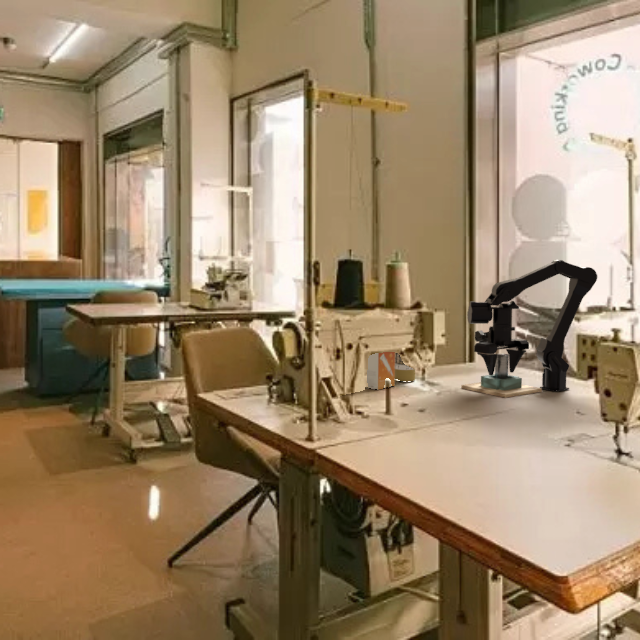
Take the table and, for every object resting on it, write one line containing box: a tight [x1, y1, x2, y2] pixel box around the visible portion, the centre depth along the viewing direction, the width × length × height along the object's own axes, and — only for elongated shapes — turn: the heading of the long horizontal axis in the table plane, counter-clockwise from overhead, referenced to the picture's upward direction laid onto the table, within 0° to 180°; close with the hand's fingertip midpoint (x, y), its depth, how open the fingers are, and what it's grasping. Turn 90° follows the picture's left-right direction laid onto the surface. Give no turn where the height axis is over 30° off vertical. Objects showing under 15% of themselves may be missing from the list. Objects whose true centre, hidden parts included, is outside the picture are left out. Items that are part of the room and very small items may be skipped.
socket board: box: [461, 373, 543, 399], centre depth 230 cm, size 18×16×4 cm
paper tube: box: [395, 353, 416, 383], centre depth 245 cm, size 7×7×25 cm
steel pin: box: [494, 353, 509, 379], centre depth 230 cm, size 4×4×10 cm
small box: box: [367, 352, 396, 391], centre depth 235 cm, size 8×6×13 cm
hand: (501, 373), depth 230 cm, fingers open, 9 cm apart
